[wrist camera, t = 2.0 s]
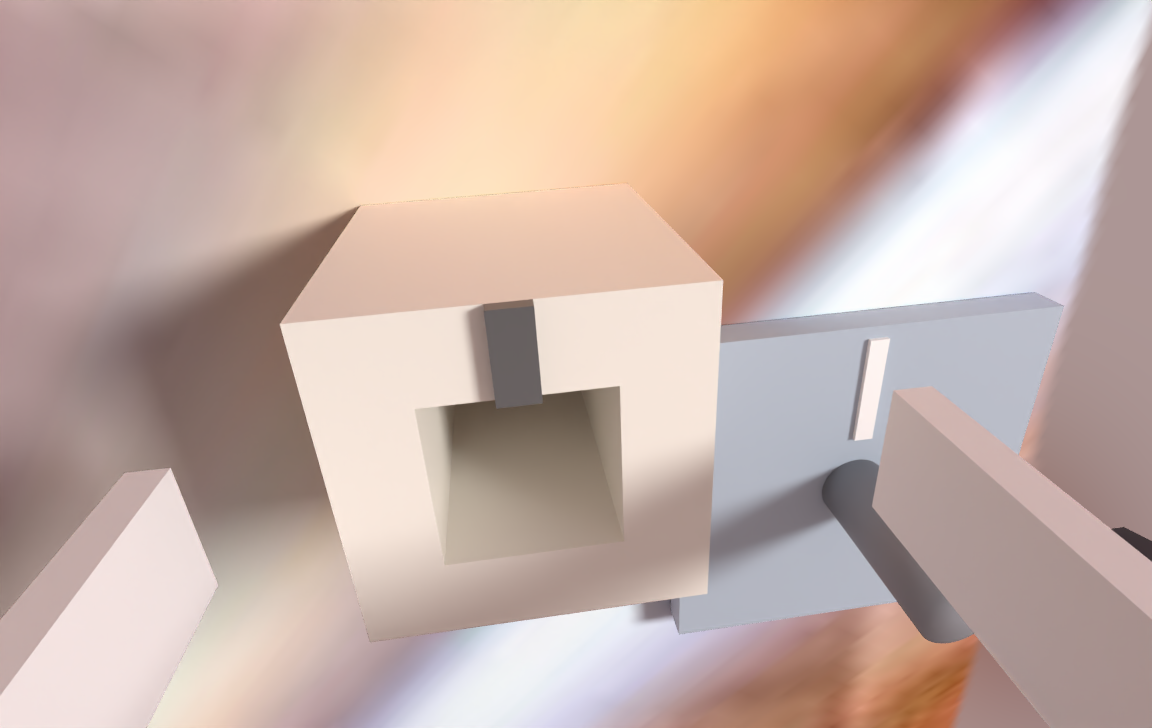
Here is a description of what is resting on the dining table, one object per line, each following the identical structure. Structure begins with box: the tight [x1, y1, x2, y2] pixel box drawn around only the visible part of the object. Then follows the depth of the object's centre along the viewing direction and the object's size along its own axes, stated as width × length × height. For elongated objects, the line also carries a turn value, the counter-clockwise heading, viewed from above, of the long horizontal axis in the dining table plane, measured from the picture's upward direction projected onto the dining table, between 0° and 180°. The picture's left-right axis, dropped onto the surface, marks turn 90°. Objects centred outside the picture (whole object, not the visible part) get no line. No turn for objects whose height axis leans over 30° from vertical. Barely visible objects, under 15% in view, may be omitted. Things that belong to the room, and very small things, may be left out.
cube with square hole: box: [280, 183, 723, 642], centre depth 16 cm, size 7×7×8 cm
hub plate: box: [671, 292, 1064, 643], centre depth 21 cm, size 12×12×7 cm
